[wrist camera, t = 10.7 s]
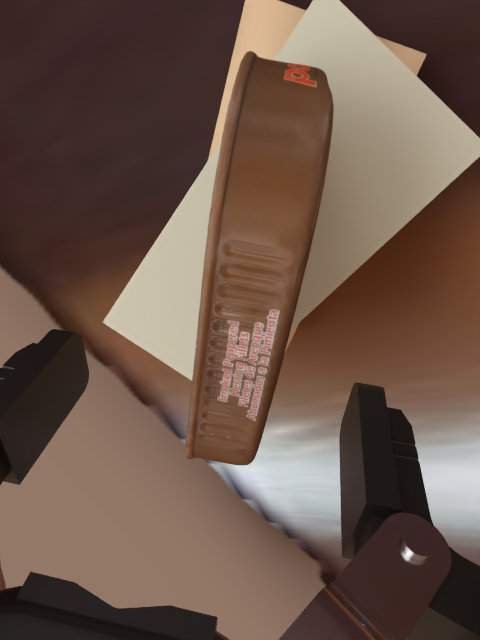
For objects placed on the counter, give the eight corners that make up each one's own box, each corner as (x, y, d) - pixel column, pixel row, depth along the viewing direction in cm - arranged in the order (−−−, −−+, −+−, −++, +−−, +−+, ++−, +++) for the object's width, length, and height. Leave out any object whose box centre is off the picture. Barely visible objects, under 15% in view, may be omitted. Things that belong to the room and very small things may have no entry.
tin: (258, 46, 14) (191, 52, 8) (347, 62, 14) (359, 83, 7) (214, 362, 23) (164, 497, 16) (269, 375, 23) (241, 517, 16)
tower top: (134, 283, 27) (102, 322, 23) (325, -4, 17) (323, -16, 13) (232, 351, 28) (217, 397, 25) (458, 126, 19) (489, 147, 15)
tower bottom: (189, 285, 31) (171, 318, 28) (262, -2, 21) (247, -11, 17) (288, 320, 31) (282, 357, 28) (410, 51, 21) (426, 54, 17)
